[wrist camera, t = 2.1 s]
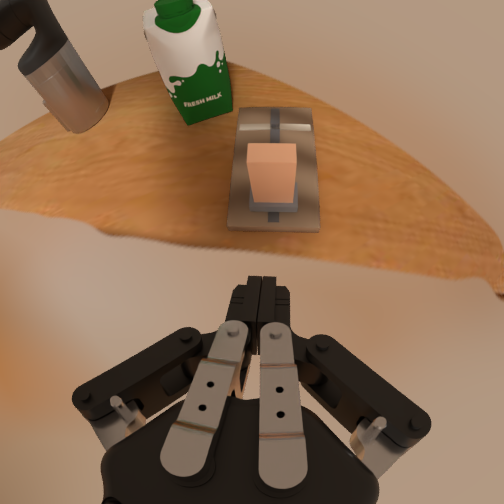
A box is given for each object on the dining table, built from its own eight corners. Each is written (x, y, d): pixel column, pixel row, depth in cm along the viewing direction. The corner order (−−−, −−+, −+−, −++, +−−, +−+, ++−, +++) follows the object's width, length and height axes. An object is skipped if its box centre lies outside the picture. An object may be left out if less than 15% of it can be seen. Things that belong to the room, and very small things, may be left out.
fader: (297, 212, 29) (303, 168, 21) (250, 211, 29) (239, 167, 21) (296, 187, 30) (301, 139, 21) (251, 187, 30) (242, 138, 22)
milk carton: (182, 132, 36) (131, 18, 17) (175, 97, 39) (134, 0, 20) (240, 113, 36) (217, -9, 17) (225, 81, 39) (202, -22, 20)
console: (318, 232, 30) (320, 227, 28) (229, 230, 31) (226, 225, 29) (310, 115, 35) (311, 107, 33) (240, 114, 36) (239, 106, 34)
